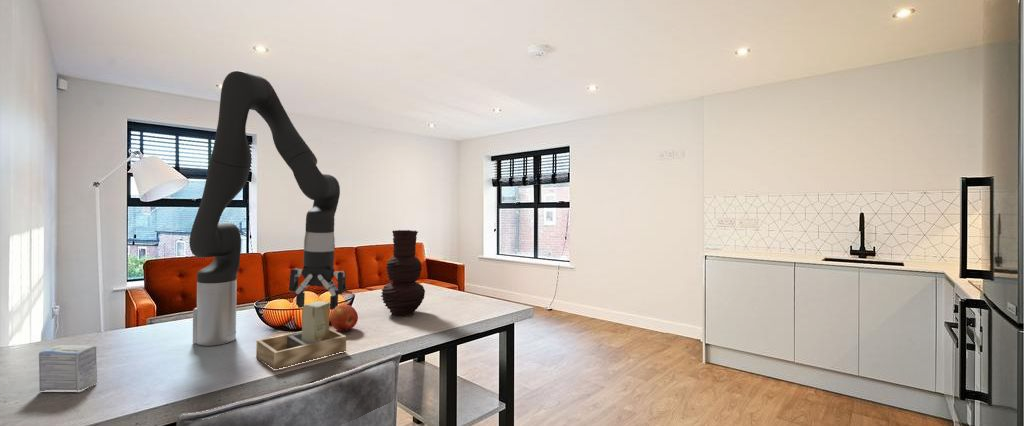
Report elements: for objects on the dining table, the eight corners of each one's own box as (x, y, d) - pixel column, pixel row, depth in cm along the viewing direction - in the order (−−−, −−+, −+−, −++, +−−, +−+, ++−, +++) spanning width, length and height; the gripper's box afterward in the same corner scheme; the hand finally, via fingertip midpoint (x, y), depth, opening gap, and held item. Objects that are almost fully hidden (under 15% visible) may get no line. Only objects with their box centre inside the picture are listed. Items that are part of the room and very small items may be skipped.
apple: (354, 325, 141) (354, 301, 141) (360, 332, 134) (361, 307, 134) (327, 328, 137) (328, 303, 136) (333, 336, 130) (333, 310, 129)
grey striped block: (98, 384, 93) (97, 345, 93) (77, 394, 89) (77, 352, 89) (60, 383, 93) (60, 344, 93) (38, 393, 89) (37, 351, 88)
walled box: (274, 371, 103) (275, 352, 103) (256, 357, 111) (256, 340, 111) (345, 352, 117) (346, 336, 117) (324, 341, 125) (325, 326, 125)
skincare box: (315, 353, 113) (316, 307, 113) (300, 352, 114) (301, 306, 114) (329, 345, 120) (330, 301, 119) (315, 343, 120) (316, 300, 120)
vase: (380, 308, 161) (382, 228, 160) (421, 307, 166) (424, 229, 165) (380, 320, 147) (382, 232, 145) (426, 318, 151) (429, 233, 150)
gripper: (285, 248, 112) (283, 310, 113) (340, 252, 112) (338, 313, 113) (299, 245, 120) (297, 302, 121) (350, 248, 120) (348, 305, 121)
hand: (317, 307), depth 117 cm, fingers open, 8 cm apart
